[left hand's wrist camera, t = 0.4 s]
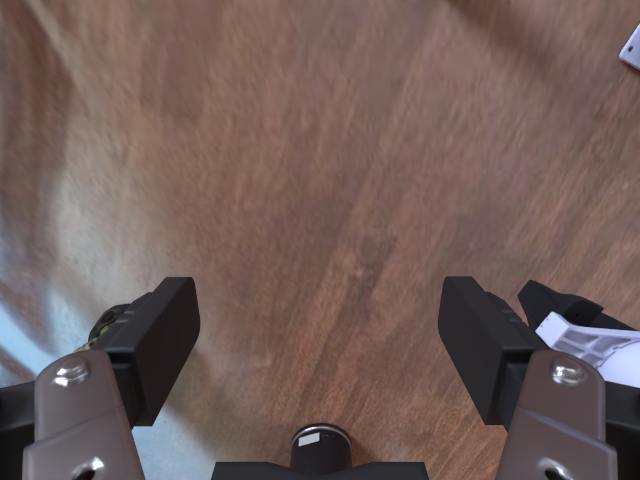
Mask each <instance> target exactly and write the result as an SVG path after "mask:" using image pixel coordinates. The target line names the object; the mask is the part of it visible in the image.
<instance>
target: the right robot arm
mask: <svg viewBox="0 0 640 480" xmlns="http://www.w3.org/2000/svg"><path fill="white" fill-rule="evenodd" d="M629 47H630V51H628V48H629ZM619 58H620V60H622V61H624V62H625V63H627V64H629V65H631V66H633V67H634V68H636V69H638V70H640V24H639V25H638V27H637V28H636V30H635V31H634V33H633V34H632V36H631V37H630V39H629V40H628V42H627V43H626V45H625V46H624V48H623V49H622V51H621V52H620V54H619ZM517 296H518V299H519V301H520V303H521V306H522V308H523V310H524V312H525V314H526V317H527V320H528V324H529V328H530V329H531V330H532V331H533V332H534V333H535V334H536V335H537V336H538V338H539V339H540V340H541V341H542V342H543V343H544V344H545V345H546V346H547V347H548V348H549V349H550V350H557V351H562V352H565V353H569V354H571V355H574V356H576V357H578V358H580V359H582V360H584V361H586V362H587V363H589V364H590V365H592V366H593V367H594V368H595V369H597V370H598V372H599V373H600V374H601V375H602V376H603V378H604V380H605V381H610V382H615V383H619V384H624V385H629V386H633V387H638V388H640V331H638V330H635V329H633V328H631V327H629V326H627V325H625V324H624V323H622V322H620V321H618V320H616V319H614V318H612V317H610V316H608V315H606V314H604V313H601V311H602V310H603V309H604V308H603V307H601V306H600V305H598V304H596V303H594V302H592V301H590V300H588V299H585V298H583V297H580V296H576V295H572V294H561V293H557V292H556V291H554V290H552V289H550V288H548V287H547V286H544V285H542V284H540V283H538V282H536V281H533V280H529V281H528V282H527V284H526V285H525V286H524V287H523V289H522V290H521V291H520V292H519V294H518V295H517Z"/></svg>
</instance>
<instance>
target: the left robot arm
mask: <svg viewBox="0 0 640 480" xmlns="http://www.w3.org/2000/svg"><path fill="white" fill-rule="evenodd" d="M115 321H116V322H115V323H113V324H112V325H111V326H110V327H109V328H108V329H107V330H106V331H105V332H104V333H103V334H102V335H101V336H100V338H99V339H98V340H97V341H96V342H95V343H94V344H93V345H92V346H91V347H90V348H89V349H88V350H83V351H78V352H75V353H71V354H69V355H66V356H64V357H62V358H60V359H58V360H56V361H54V362H53V363H51V364H50V365H48V366H47V367H46V368H45V369H43V370H42V372H41V373H40V374H39V375H38V376H37V378H36V380H35V381H33V382H28V383H23V384H18V385H14V386H9V387H4V388H0V480H145V476H144V473H143V469H142V466H141V463H140V459H139V456H138V452H137V449H136V445H135V442H134V439H133V435H132V432H131V431H132V429H133V427H134V426H153V424H154V422H155V420H156V418H157V416H158V414H159V412H160V410H161V408H162V406H163V404H164V402H165V400H166V399H167V397H168V395H169V393H170V391H171V389H172V387H173V385H174V383H175V381H176V379H177V377H178V375H179V373H180V371H181V370H182V368H183V366H184V364H185V362H186V360H187V358H188V356H189V354H190V352H191V350H192V348H193V346H194V344H195V343H196V341H197V338H198V336H199V331H200V315H199V308H198V302H197V295H196V288H195V283H194V280H193V278H192V277H166V278H165V279H164V280H163V281H162V282H161V283H160V284H159V286H158V287H157V288H156V289H155V290H154V291H153V292H148V293H147V294H145V295H143V296H142V297H140V298H138V299H136V300H135V301H133V302H132V303H131V304H130V305H129V307H128V308H127V309H126V310H125V311H124V314H121V315H120V316H119V317H118V318H117V319H116V320H115ZM438 330H439V334H440V337H441V340H442V342H443V344H444V345H445V347H446V349H447V351H448V353H449V355H450V357H451V359H452V361H453V363H454V365H455V367H456V369H457V371H458V373H459V375H460V377H461V379H462V381H463V383H464V385H465V387H466V388H467V390H468V392H469V394H470V396H471V398H472V400H473V402H474V404H475V406H476V408H477V410H478V412H479V414H480V416H481V418H482V420H483V422H484V424H485V425H503V426H504V427H505V429H506V431H507V433H508V435H507V439H506V442H505V445H504V449H503V452H502V456H501V459H500V463H499V466H498V469H497V473H496V476H495V480H640V388H638V387H633V386H629V385H624V384H619V383H615V382H610V381H605V380H604V378H603V376H602V375H601V374H600V373H599V372H598V370H597V369H595V368H594V367H593V366H592V365H590V364H589V363H587V362H586V361H584V360H582V359H580V358H578V357H576V356H574V355H571V354H569V353H565V352H562V351H557V350H550V349H549V348H548V347H547V346H546V345H545V344H544V343H543V342H542V341H541V340H540V339H539V338H538V336H537V335H536V334H535V333H534V332H533V331H532V330H531V329H530V328H529V327H528V326H527V325H526V324H525V322H522V319H521V318H520V317H519V316H518V315H517V314H516V313H514V311H513V309H512V308H511V307H510V306H509V305H508V304H507V303H506V302H505V301H504V300H502V299H501V298H499V297H497V296H496V295H494V294H492V293H491V292H485V291H484V290H483V289H482V288H481V286H480V285H479V284H478V283H477V282H476V281H475V279H474V278H473V277H470V276H447V277H446V278H445V280H444V283H443V289H442V295H441V302H440V309H439V316H438ZM211 480H429V478H428V474H427V471H426V467H425V464H424V462H371V463H367V464H363V465H360V466H356V467H352V456H351V441H350V438H349V436H348V435H347V433H346V432H345V431H343V430H342V429H341V428H339V427H337V426H334V425H331V424H324V423H318V424H312V425H308V426H306V427H304V428H302V429H300V430H299V431H298V432H297V433H296V434H295V435H294V437H293V439H292V442H291V461H290V468H288V467H284V466H280V465H277V464H273V463H269V462H216V464H215V467H214V471H213V474H212V478H211Z"/></svg>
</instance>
